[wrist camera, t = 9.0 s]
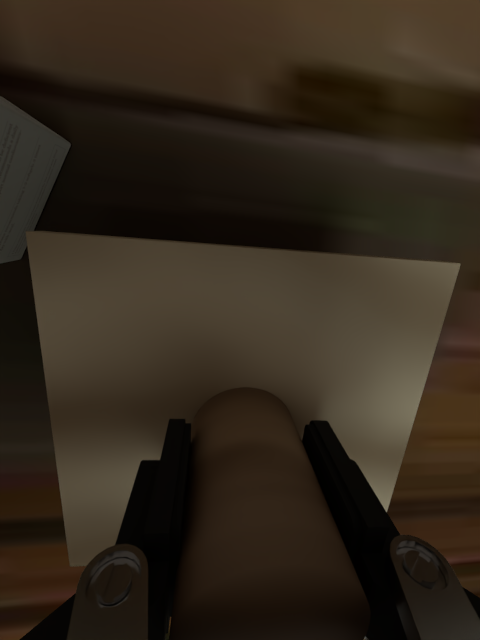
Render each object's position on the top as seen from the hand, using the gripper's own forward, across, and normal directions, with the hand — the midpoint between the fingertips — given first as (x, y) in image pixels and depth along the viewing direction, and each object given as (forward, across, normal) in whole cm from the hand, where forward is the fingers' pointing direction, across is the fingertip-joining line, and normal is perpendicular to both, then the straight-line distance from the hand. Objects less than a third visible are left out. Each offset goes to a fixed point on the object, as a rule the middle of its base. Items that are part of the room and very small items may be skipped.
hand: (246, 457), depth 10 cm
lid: (+2, 0, 0) cm, 2 cm away
